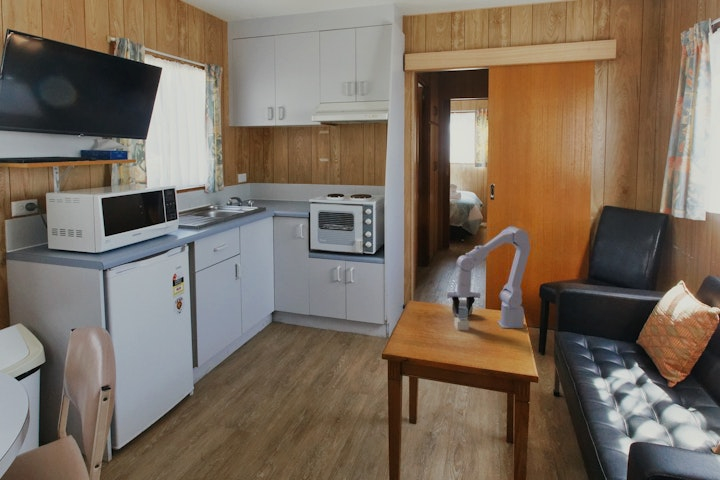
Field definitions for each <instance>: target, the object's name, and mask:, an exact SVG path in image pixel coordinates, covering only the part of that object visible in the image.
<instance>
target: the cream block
mask: <svg viewBox="0 0 720 480" xmlns="http://www.w3.org/2000/svg"><path fill="white" fill-rule="evenodd" d="M453 327H455V329H456V331H469V330H470V321H469V319H468V318H458V317H454V324H453Z"/></svg>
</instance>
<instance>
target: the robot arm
mask: <svg viewBox="0 0 720 480" xmlns="http://www.w3.org/2000/svg"><path fill="white" fill-rule="evenodd" d="M503 244H512V245H513V246H514V248H515V249H516V250H515V254H514V258H513V261H512V265H511V269H510V273H509V276H508V281H507V282H506V284H505V285H503V289H502V290H500V293H499V299H500V301H501V307H500V308H501V310H500V319H499V320H497V321H496V322H497V323H498V324H499V326H500V327H501V328H502V329H523V328H525V327H524V319H525V318H524V317H525V310H524V307H523V306H522V304H523V298H522V295H523V291H522V288H521V284H522V280H523V277H524V273H525V269H526V265H527V262H528V259H529V255H530V251H531V244H530V235H529V233H528V232H527V231H526V230H525V229H521V228H518V227H516V226H514V225H510V226H508V227H506V228H505V229H503V230H502V231H501V232H499V233H498V235H496V236H495V237H493V238H492V239H490V240H489V241H488V242H486V244H484V245H475V246H474V249H472V250H470V251H469V252H466V253H465V254H462V255H460V256H459V257H458V258H457V259H456V261H455V264H456V266H457V279H456V280H457V282H456V291H451V292H446V294H445V297H446V299H452V303H453V302H454V305H455V310H456V314H458V312H459V302H460V301H459V300H460V299H461V298H462V299H464V298H465V300H467V306H466V307H467V309H468V314H469V311H470V308H471V306H473V305H474V303H475V301H476V299H475V298H478V299H481V295H482V294H481V293H480V292H476V291H475V292H474V291H473V292H472V291H471V286H472V272H473V271H472V270H473V269H474V268H475V265H476V264H478V263H480V262H482V260H484V259H486V258H487V257H488V255H489V252H491V251H493V250H495V249H496V248H499V247H500V246H502V245H503Z"/></svg>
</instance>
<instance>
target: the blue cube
mask: <svg viewBox="0 0 720 480" xmlns="http://www.w3.org/2000/svg"><path fill="white" fill-rule="evenodd" d="M456 315H457V316H456V318H467V319H468V318H469V316H468V309H467V307H459V312H458V314H456Z"/></svg>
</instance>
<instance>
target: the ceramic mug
mask: <svg viewBox="0 0 720 480" xmlns="http://www.w3.org/2000/svg"><path fill="white" fill-rule="evenodd" d="M459 301H460V302H459V307H466V306H467V300H466V299H459ZM451 306H452V308H451V309H452V311H451V312H452V315H453V316H455V317H457V315H456V310H455V305H454V302H453V301H452V304H451ZM473 309H474V307H473V305H472V306H471V308H470V311H469V314H468V317H469V316H471V315H472V314H473Z"/></svg>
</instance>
